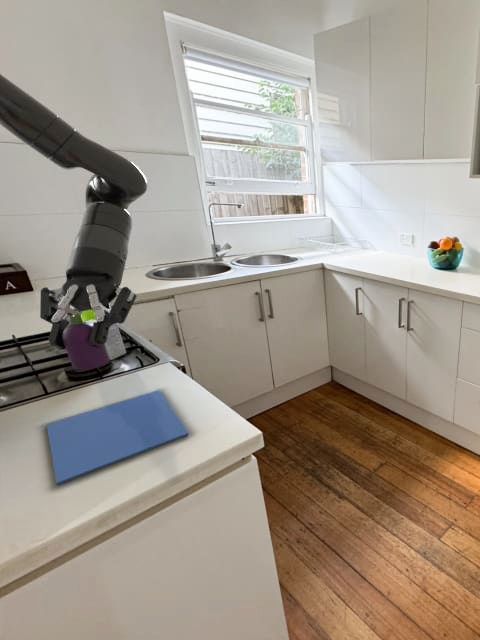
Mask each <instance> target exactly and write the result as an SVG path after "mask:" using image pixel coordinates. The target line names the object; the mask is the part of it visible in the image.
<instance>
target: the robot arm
mask: <svg viewBox="0 0 480 640" xmlns="http://www.w3.org/2000/svg"><path fill="white" fill-rule="evenodd" d="M0 126H1V127H3V128H4V129H5V130H7V132H9V133H11V134H12V135H13V136H15V137H16V138H17V139H19V140H20V141H21V142H22V143H24V144H25V145H27V146H28V147H30V148H31V149H33V151H36V152H37V153H39V155H41V156H43V157H44V158H46V159H47V160H48V161H50V162H52V163H53V164H54V165H57V167H59V168H61V169H64V170H70V171H71V170H75V169H83V170H86V171H87V172H89V173H92V176H91V177H90V178H89V179H88V183H87V184H86V188H85V193H84V194H85V198H84V199H85V200H84V201H85V211H84V214H83V217H82V221H81V224H80V228H79V230H78V232H77V234H76V236H75V239H74V241H73V245H72V248H71V252H70V255H69V258H68V261H67V266H66V268H65V277H66V280H65V282H64V283H63V284H62V285H61V287H59V288H54V289H50V288H49V287H42V288H41V289H40V298H39V299H40V304H39V307H40V308H39V311H40V312H39V313H40V314H39V317H40V319H42V320H43V321H46V322H48V323H49V324H51V325H52V326H51V329H50V333H49V336H48V342H49V343H50V346H52V347H55V348H56V349H66V348H65V345H64V343H63V340H62V333H63V331H64V329H65V328H66V327H67V326H68V325H70V324H72V323H71V320H70V316H71V315H76V314H79V315H81V314H82V312H83V311H87V310H94V313H95V318H96V321H97V322H94V323H93V327H92V331H91V335H90V340H89V343H90V344H91V345H93V346H94V347H102V346H103V344H105V342H106V341H107V336H108V332H109V328H110V327H111V326H112V325H113V324H115V323H117V324H119V325H122V324H123V323H125V321H126V319H127V318H128V315H129V313H130V311H131V309H132V308H133V305H134V303H135V301H136V300H137V297H138V296H137V294H136V293H135V292H134V291H133V290H132V289H131V288H129V287H128V286H123V287H120V286H121V284H122V280H123V276H124V272H125V267H126V262H127V260H128V253H129V242H130V237H131V233H132V229H133V218H132V215H131V214H130V213H129V212H128V209H129V207H130V205H131V204H132V203H134V202H135V201H136V200H138V199H140V198H141V197H143V196H144V194H146V192H147V190H148V181H147V178H146V176H145V175H144V173H143V172H142V170H141V169H139V167H138V166H137V165H136V164H134V163H133V162H132V161H131V160H129V159H127V158H125V157H124V156H122V155H121V154H119V153H116V152H115V151H113V150H111V149H109V148H107V147H105V146H104V145H102V144H100V143H98V142H97V141H93V140H92V139H90V138H88V137H86V136H85V135H83V134H82V133H81V132H80V131H78V130H76V128H74V127H73V126H72V125H70V124H69V123H68V122H67V121H65V120H64V119H63V118H61V117H60V116H59V115H57V114H56V113H55V112H54V111H52V110H51V109H49V108H48V107H47V106H46V105H44V104H42V103H41V102H40V101H39V100H38V99H35V97H33V96H32V95H30V94H29V93H28V92H26V91H25V90H23V89H22V88H21V87H19V86H18V85H16V84H15V83H13V82H12V81H11V80H10V79H8V78H7V77H5V76H4V75H3V74H1V73H0ZM113 301H114V303H113V305H112V306H111V303H112V302H113ZM71 307H72V308H71Z"/></svg>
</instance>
